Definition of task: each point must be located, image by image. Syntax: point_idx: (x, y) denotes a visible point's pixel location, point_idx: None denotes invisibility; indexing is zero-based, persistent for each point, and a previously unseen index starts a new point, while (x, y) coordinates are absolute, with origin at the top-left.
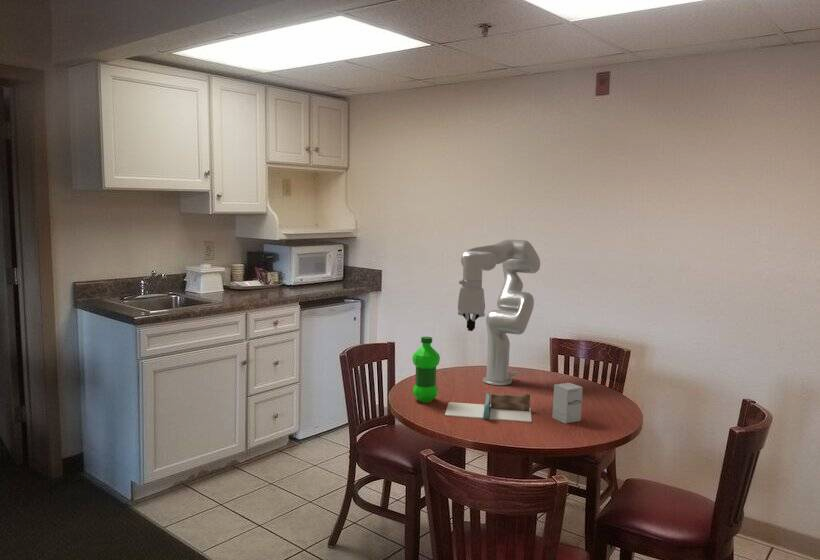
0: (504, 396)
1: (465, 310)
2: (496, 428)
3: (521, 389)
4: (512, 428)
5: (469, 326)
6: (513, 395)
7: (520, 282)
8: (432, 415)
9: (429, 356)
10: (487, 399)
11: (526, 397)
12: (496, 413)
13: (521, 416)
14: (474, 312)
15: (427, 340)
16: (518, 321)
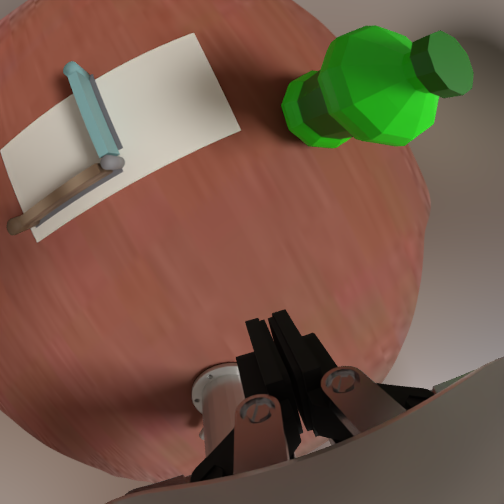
0: (62, 185)
1: (450, 432)
2: (48, 54)
3: (145, 375)
4: (21, 82)
5: (281, 337)
6: (44, 207)
7: None
8: (223, 20)
9: (354, 34)
10: (84, 109)
11: (14, 218)
12: (78, 133)
13: (24, 162)
14: (228, 496)
15: (427, 36)
16: None
